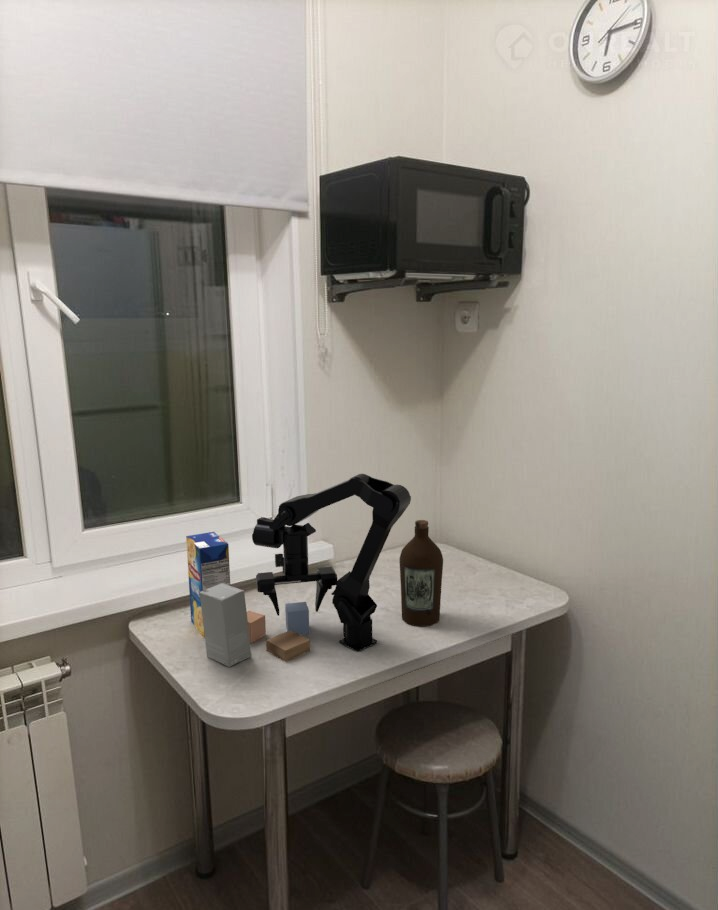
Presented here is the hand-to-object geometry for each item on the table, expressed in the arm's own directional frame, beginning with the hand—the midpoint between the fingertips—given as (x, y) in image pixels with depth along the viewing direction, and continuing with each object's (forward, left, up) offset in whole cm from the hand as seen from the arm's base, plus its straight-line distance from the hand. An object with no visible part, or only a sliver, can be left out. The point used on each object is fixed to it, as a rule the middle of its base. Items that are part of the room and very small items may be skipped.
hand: (297, 613), depth 163 cm
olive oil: (-16, -26, -4) cm, 31 cm away
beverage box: (+16, +14, -4) cm, 22 cm away
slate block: (0, 0, -4) cm, 4 cm away
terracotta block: (+5, +10, -4) cm, 12 cm away
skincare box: (0, +20, -4) cm, 20 cm away
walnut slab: (-7, +8, -5) cm, 12 cm away
